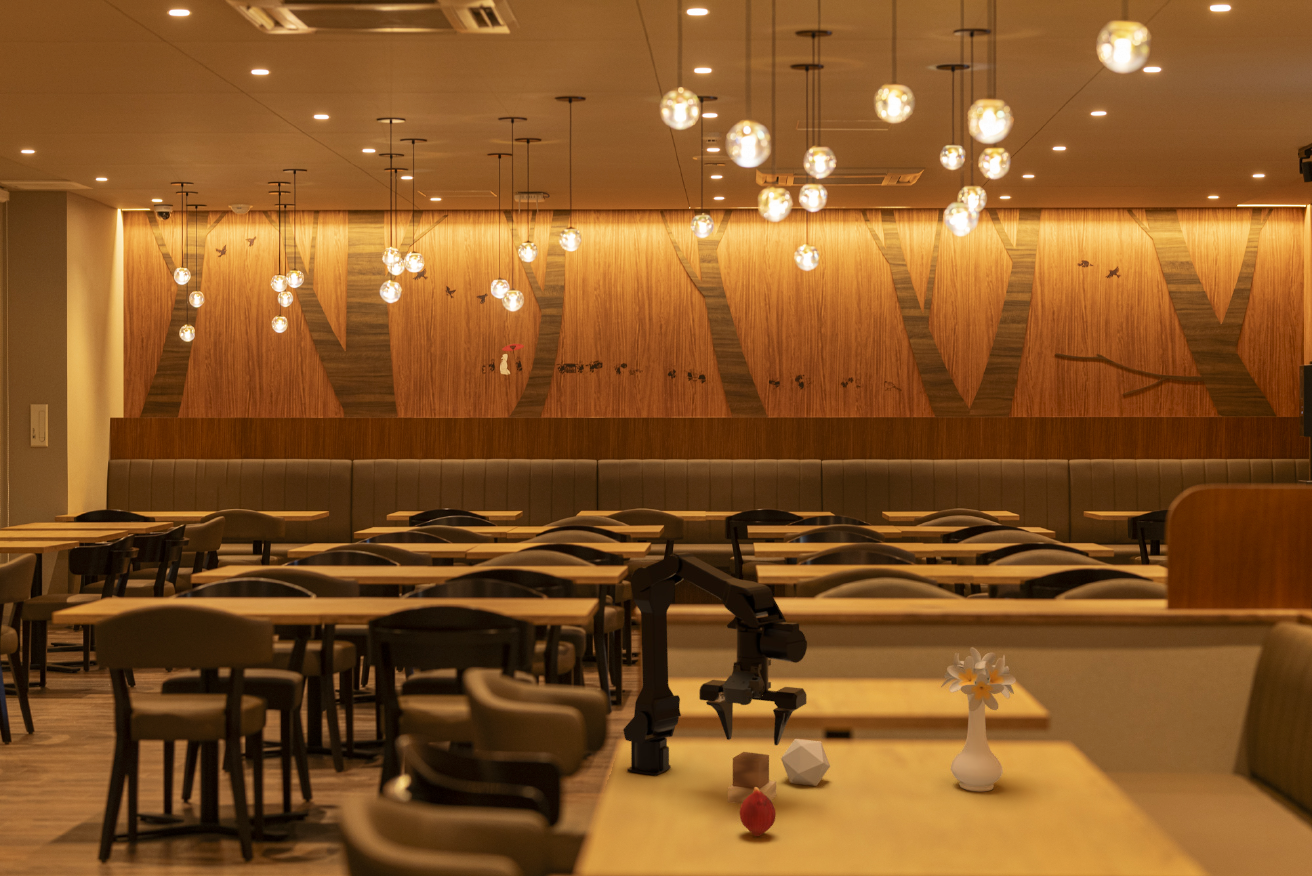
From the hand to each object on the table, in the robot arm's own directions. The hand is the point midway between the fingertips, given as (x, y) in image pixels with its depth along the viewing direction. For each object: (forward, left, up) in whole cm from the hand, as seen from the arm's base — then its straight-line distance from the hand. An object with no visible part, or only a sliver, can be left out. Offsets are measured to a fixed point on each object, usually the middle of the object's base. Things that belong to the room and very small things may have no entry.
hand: (752, 742), depth 232 cm
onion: (+9, -19, -10) cm, 23 cm away
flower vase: (+35, +25, -10) cm, 44 cm away
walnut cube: (0, 0, -8) cm, 8 cm away
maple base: (0, 0, -11) cm, 11 cm away
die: (+5, +14, -10) cm, 18 cm away
